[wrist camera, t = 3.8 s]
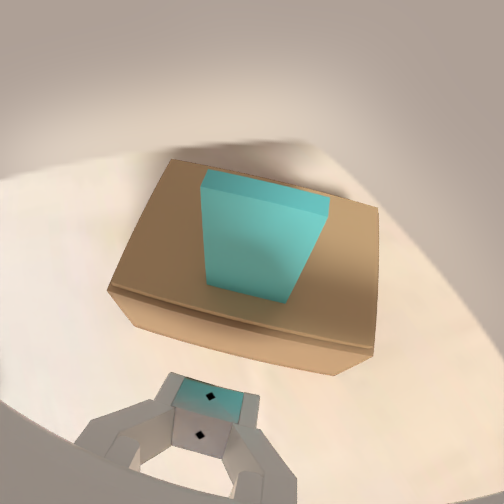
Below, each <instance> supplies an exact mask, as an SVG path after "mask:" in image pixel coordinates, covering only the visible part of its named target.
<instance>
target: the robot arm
mask: <svg viewBox="0 0 504 504" xmlns="http://www.w3.org/2000/svg"><path fill="white" fill-rule="evenodd" d="M259 401H260V396H259V395H255V394H250V393H246V392H239V391H235V390H231V389H227V388H223V387H219V386H215V385H212V384H209V383H205V382H202V381H199V380H196V379H192V378H189V377H185V376H182V375H179V374H176V373H173V372H171V373H169V374H168V376H167V378H166V379H165V381H164V383H163V385H162V386H161V388H160V390H159V392H158V394H157V395H156V397H155V399H154V400H151V399H148V400H146V401H143V402H141V403H138V404H135V405H133V406H130V407H127V408H124V409H122V410H119V411H116V412H113V413H110V414H108V415H105V416H102V417H99V418H96V419H93V420H91V421H90V422H89V424H88V425H87V426H86V428H85V429H84V430H83V432H82V433H81V434H80V436H79V437H78V438H77V440H76V441H75V443H74V444H73V443H71V442H70V441H68V440H66V439H64V438H62V437H60V436H58V435H56V434H55V433H53V432H51V431H49V430H47V429H46V428H44V427H42V426H40V425H39V424H37V423H35V422H34V421H32V420H30V419H29V418H27V417H26V416H24V415H22V414H21V413H19V412H18V411H16V410H15V409H13V408H12V407H10V406H9V405H7V404H6V403H4V402H3V401H1V400H0V504H297V478H296V477H295V475H294V474H293V473H292V472H291V470H290V469H289V468H288V466H287V465H286V464H285V462H284V461H283V460H282V458H281V457H280V456H279V454H278V453H277V452H276V450H275V449H274V447H273V446H272V445H271V443H270V442H269V441H268V439H267V438H266V436H265V435H264V434H263V432H262V431H261V430H260V429H256V426H257V418H258V410H259ZM171 445H172V446H175V447H179V448H183V449H186V450H190V451H194V452H198V453H201V454H204V455H208V456H211V457H215V458H219V459H222V462H223V464H224V466H225V468H226V471H227V473H228V475H229V477H230V479H231V481H232V484H233V489H232V491H231V494H230V496H229V498H227V497H222V496H218V495H214V494H209V493H205V492H201V491H198V490H194V489H190V488H187V487H183V486H180V485H176V484H173V483H170V482H167V481H163V480H160V479H157V478H154V477H151V476H149V475H146V474H143V473H140V465H142V464H143V463H145V462H146V461H148V460H150V459H151V458H153V457H155V456H156V455H158V454H160V453H161V452H163V451H164V450H166V449H167V448H169V447H171ZM448 504H504V491H502V492H498V493H494V494H491V495H487V496H483V497H478V498H474V499H469V500H465V501H459V502H454V503H448Z"/></svg>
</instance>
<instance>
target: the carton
mask: <svg viewBox="0 0 504 504" xmlns="http://www.w3.org/2000/svg"><path fill="white" fill-rule="evenodd" d="M160 179H161V178H160ZM153 192H154V191H153ZM129 240H130V239H129ZM122 255H123V254H122ZM378 273H379V213H378ZM107 291H108V293H109V294H110V296H111V297H112V298H113V299H114V301H115V302H116V303H117V305H118V306H119V307H120V309H121V310H122V311H123V312H124V314H125V315H126V316H127V318H128V319H129V320H130V321H131V323H132V324H133V325H134V326H135V327H138V328H141V329H144V330H147V331H150V332H153V333H157V334H160V335H163V336H166V337H170V338H173V339H176V340H180V341H183V342H187V343H190V344H194V345H197V346H201V347H205V348H208V349H212V350H216V351H220V352H224V353H228V354H232V355H236V356H240V357H244V358H248V359H252V360H257V361H261V362H265V363H270V364H275V365H279V366H284V367H289V368H294V369H299V370H304V371H309V372H315V373H320V374H326V375H331V376H335V375H337V374H339V373H341V372H343V371H345V370H347V369H349V368H351V367H353V366H355V365H357V364H359V363H361V362H363V361H365V360H367V359H369V358H371V357H373V352H374V345H373V347H372V348H370V349H367V348H361V347H356V346H351V345H345V344H340V343H335V342H330V341H325V340H320V339H315V338H310V337H305V336H301V335H296V334H292V333H287V332H283V331H278V330H274V329H269V328H265V327H261V326H257V325H252V324H248V323H244V322H240V321H236V320H232V319H228V318H224V317H220V316H216V315H213V314H209V313H205V312H201V311H198V310H194V309H190V308H187V307H183V306H179V305H176V304H172V303H169V302H165V301H162V300H159V299H155V298H152V297H148V296H145V295H142V294H138V293H135V292H132V291H129V290H125V289H122V288H119V287H116V286H113V285H112V283H111V282H110V284H109V286H108V289H107ZM377 299H378V285H377ZM376 316H377V306H376ZM375 330H376V321H375ZM374 341H375V334H374Z"/></svg>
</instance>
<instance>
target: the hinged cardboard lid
mask: <svg viewBox="0 0 504 504" xmlns="http://www.w3.org/2000/svg"><path fill="white" fill-rule="evenodd" d="M111 283H112V285H113V286H116V287H119V288H122V289H125V290H129V291H132V292H135V293H138V294H142V295H145V296H148V297H152V298H155V299H159V300H162V301H165V302H169V303H172V304H176V305H179V306H183V307H187V308H190V309H194V310H198V311H201V312H205V313H209V314H213V315H216V316H220V317H224V318H228V319H232V320H236V321H240V322H244V323H248V324H252V325H257V326H261V327H265V328H269V329H274V330H278V331H283V332H287V333H292V334H296V335H301V336H305V337H310V338H315V339H320V340H325V341H330V342H335V343H340V344H345V345H351V346H356V347H361V348H367V349H370V348H372V347H373V345H374V334H375V321H376V306H377V285H378V208H377V207H373V206H370V205H366V204H363V203H359V202H356V201H352V200H349V199H345V198H342V197H338V196H334V195H331V194H327V193H323V192H319V191H316V190H312V189H308V188H304V187H300V186H296V185H292V184H288V183H284V182H279V181H275V180H271V179H267V178H262V177H258V176H254V175H249V174H245V173H240V172H235V171H231V170H226V169H221V168H216V167H211V166H206V165H201V164H196V163H191V162H185V161H180V160H174V159H171V160H170V162H169V164H168V166H167V168H166V169H165V171H164V173H163V175H162V177H161V179H160V180H159V182H158V184H157V186H156V188H155V190H154V192H153V193H152V195H151V197H150V199H149V201H148V203H147V205H146V207H145V209H144V211H143V213H142V215H141V217H140V219H139V221H138V223H137V225H136V227H135V229H134V231H133V233H132V235H131V237H130V240H129V242H128V244H127V246H126V248H125V250H124V252H123V255H122V257H121V259H120V261H119V263H118V266H117V268H116V270H115V272H114V275H113V277H112V279H111Z"/></svg>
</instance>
